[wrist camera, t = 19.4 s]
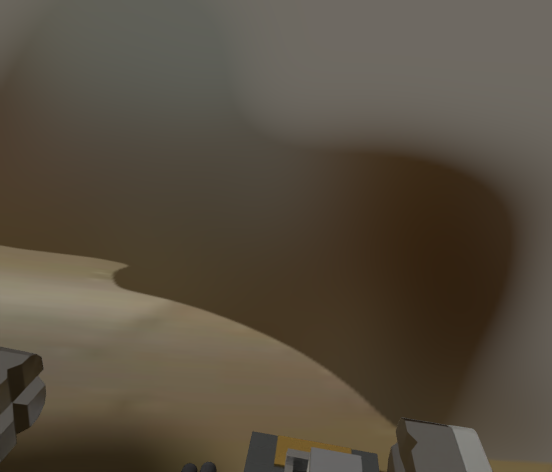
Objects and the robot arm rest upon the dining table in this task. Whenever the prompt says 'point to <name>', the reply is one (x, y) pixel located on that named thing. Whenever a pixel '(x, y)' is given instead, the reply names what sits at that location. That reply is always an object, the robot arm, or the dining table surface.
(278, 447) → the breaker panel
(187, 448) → the dining table surface
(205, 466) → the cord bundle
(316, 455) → the knob
